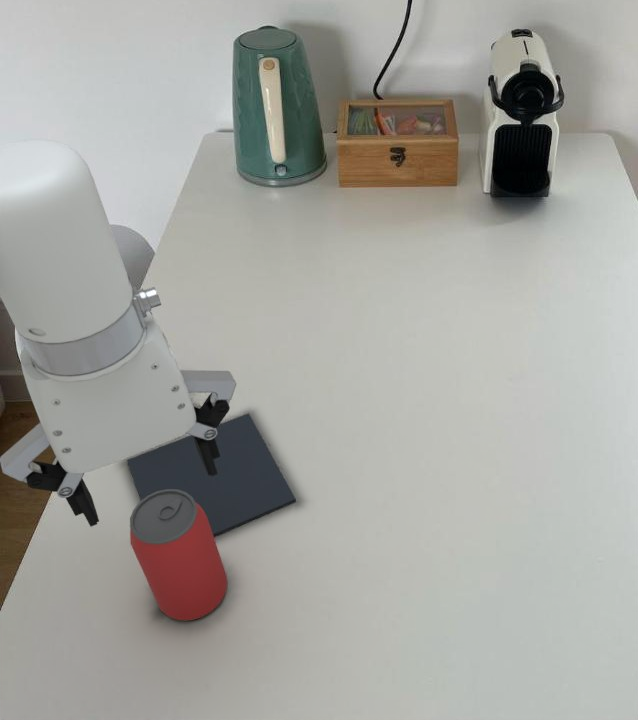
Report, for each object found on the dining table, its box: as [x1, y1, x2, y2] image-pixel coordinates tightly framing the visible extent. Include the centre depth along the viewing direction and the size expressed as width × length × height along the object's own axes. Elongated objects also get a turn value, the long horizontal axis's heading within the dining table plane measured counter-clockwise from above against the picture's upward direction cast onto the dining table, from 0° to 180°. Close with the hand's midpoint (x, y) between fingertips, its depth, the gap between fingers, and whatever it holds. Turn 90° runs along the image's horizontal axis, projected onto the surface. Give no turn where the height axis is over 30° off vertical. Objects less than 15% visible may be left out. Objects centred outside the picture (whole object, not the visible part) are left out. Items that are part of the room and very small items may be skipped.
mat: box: [126, 412, 297, 537], centre depth 86 cm, size 14×14×1 cm
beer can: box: [129, 489, 228, 621], centre depth 72 cm, size 7×7×12 cm
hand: (151, 487), depth 65 cm, fingers open, 9 cm apart
